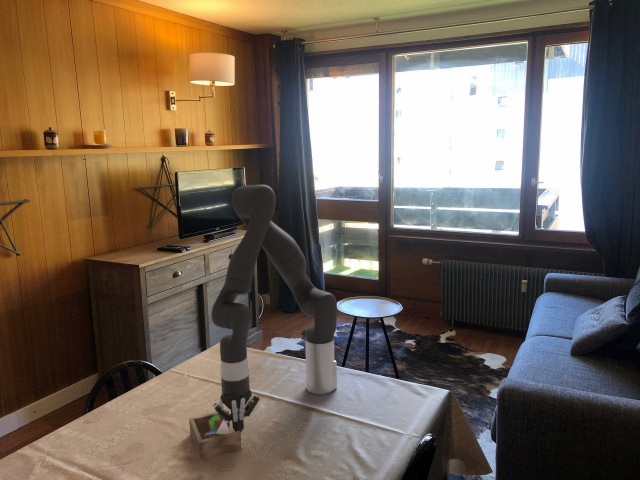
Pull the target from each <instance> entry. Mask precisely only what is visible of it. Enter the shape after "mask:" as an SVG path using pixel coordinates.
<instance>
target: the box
mask: <svg viewBox="0 0 640 480" xmlns="http://www.w3.org/2000/svg"><path fill="white" fill-rule="evenodd" d="M224 410H225V411H226V412H227V413H229V414H230V411H229V410H230V409H229V408H227V409H224ZM216 413H217V411H215V412H212V413H206V414H202V415H198V416H193V417H189V418H188V420H189V421H188V423H189V433H190V435H189V436H190V438H191V441H192V443H193V446H194V448H195V451H196V453H197V456H198V458H199V461H203V460H207V459H211V458H215V457H219V456H222V455H226V454H230V453H234V452H238V451H242V432H240V431H236V432H235V431H233V432H229V433H227V434H224V435H220V436H216V437H215V436H211V437H208V438H205V439H202V436H201V435H203V434H206V433H208V432H209V429H208V427H207V424H206V422H208V420H209V419H210V418H212V417H213V416H214V415H215V414H216ZM218 415H219V418H220V419H224V421H227V420H225V418H224V417H222V416H221V415H220V414H219V413H218ZM229 422H230V421H229ZM229 422H228V423H227V425H228V426H229V427H228V428H230V427H231V425H230V423H231V422H230V423H229ZM205 425H206V426H205Z"/></svg>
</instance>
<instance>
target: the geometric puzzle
mask: <svg viewBox="0 0 640 480" xmlns="http://www.w3.org/2000/svg"><path fill="white" fill-rule="evenodd" d="M216 412H217V411H216ZM225 420H226V419H225ZM228 422H229V423H231V421H224V419H220V418H219V415H218V412H217V413H216V414H215V415H214V416H213V417H212V418H210V419H209V420H208V422H206V424H207V427H208V429H209V432H207V433H203V434H204V436H206V438H207V436H208V437H216V436H220V435H224V434H228V433H230V427H229V426H228V425H227V423H228ZM205 426H206V425H205Z"/></svg>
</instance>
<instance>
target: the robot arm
mask: <svg viewBox="0 0 640 480" xmlns="http://www.w3.org/2000/svg"><path fill="white" fill-rule="evenodd" d="M231 204H232V207H233V210H234V212H235V214H236V215H237V217H238V218H239V219H240V220H241V221H242V223H243V224H244V225H245V226H246V227H247V229H246V231H245V233H244V235H243V237H242V239H241V240H240V242H239V244H238V245H237V246H236V248H235V249H234V252H232V254H231V257H230V258H229V263H228V265H227V270H226V273H225V274H226V275H225V278H224V279H225V281H224V283H223V285H222V288H221V290H220V292H219V294H218V295H217V298H216V299H215V301H214V303H213V306H212V307H211V308H212V309H211V316H210V317H211V321H212V323H213V324H214V326H215V327H218V328H220V329H221V328H222V329H227V330H232V331H231V332H232V333H231V334H227V335H225V336H222V337H221V339H220V340H219V353H220V354H219V356H220V367H219V369H220V371H219V372H220V383H221V384H220V385H221V395H220V399H219V401H218V402H217V403H216V402H215V403H214V404H213V405H212V406H213V408H214V410H215V412H218V413H219V414H220V415H221V416H222V417H224V418H225V419H226V420H227V421H229V422H231V425H232V430H233V432H236V431H240V432H241V433H242V432H243V430H244V428H245V425H244V423H245V421H244V419H245V418H246V417H250V415H251V414H252V412H253V410H254V409H255V408H256V406H257V405H258V403H259V402H260V397H259V396H258V394H257V393H252V390H251V387H250V386H251V385H250V367H249V366H250V365H249V360H248V351H247V350H248V349H247V341H248V338H249V332H250V328H251V327H250V326H251V323H252V318H253V317H252V312H251V309H250V308H249V306H248V305H246V304H244V303H238V302H235V300H236V299H237V298H238V296H243V295H247V294H249V292H250V291H251V287H252V283H253V279H254V274H255V268H256V265H257V260H258V256H259V253H260V250H261V247H262V249H263V250H264V252H265V253H266V255H267V256H268V259H269V260H270V262H271V264H272V265H273V266H274V268H275V270H276V271H277V272H278V273H279V275H280V276H281V277H282V279H283V281H284V283H286V285H287V286H288V288H289V290H290V291H291V293H292V295H293V297H294V299H295V301H296V303H297V306H298V307H299V309H300V311H301V313H303V314H304V315H305V316H306V317H309V318H311V319H314V325H313V326H310V327H308V328H307V329H306V330H305V335H304V336H305V371H306V372H305V374H306V375H305V376H306V377H305V379H306V381H305V382H306V383H305V384H306V390H307V392H308V393H311V394H314V395H326V394H330V393H332V392H334V391H335V390H337V389H338V373H337V372H338V371H337V370H338V367H337V365H338V364H337V363H338V362H337V361H336V360H335V333H336V330H337V317H338V303H337V302H338V301H337V299H336V296H335V295H334V294H333V293H332V292H328V291H325V290H321V289H318V288H317V287H316V286H314V284H313V283H312V281H311V279H310V278H309V277H308V275H307V260H306V257H305V255H304V253H303V250H301V247H300V246H299V245H298V243H297V242H296V240H295V239H294V238H293V237H292V236H291V235H290V234H289V233H287V232H286V231H285V230H283V229H282V228H281V227H279V226H278V225H277V224H276V223H274V222H273V221H272V218H273V215H274V213H275V210H276V209H275V208H276V205H277V198H276V193H275V191H274V190H273V189H272V187H271V186H269V185H267V184H253V185H249V184H248V185H241V186H238V187H237V188H235V189H234V191H233V192H232V195H231ZM224 406H226V408H227V409H228V410H230V411H229V413H227V412H226V411H225V410H226V409H224Z"/></svg>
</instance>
